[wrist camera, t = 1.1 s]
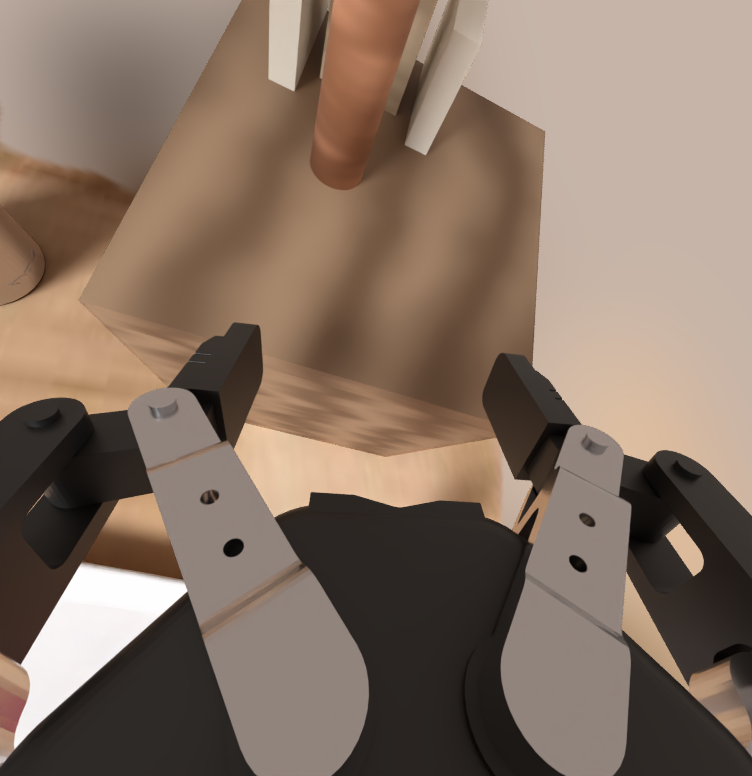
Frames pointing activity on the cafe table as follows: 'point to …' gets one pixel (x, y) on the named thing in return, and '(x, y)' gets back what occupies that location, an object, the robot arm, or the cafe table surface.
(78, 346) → the cafe table surface
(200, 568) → the robot arm
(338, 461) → the cafe table surface
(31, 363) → the cafe table surface
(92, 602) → the tray
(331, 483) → the cafe table surface
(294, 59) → the upright cream panels
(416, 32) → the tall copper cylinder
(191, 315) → the open wooden cabinet
